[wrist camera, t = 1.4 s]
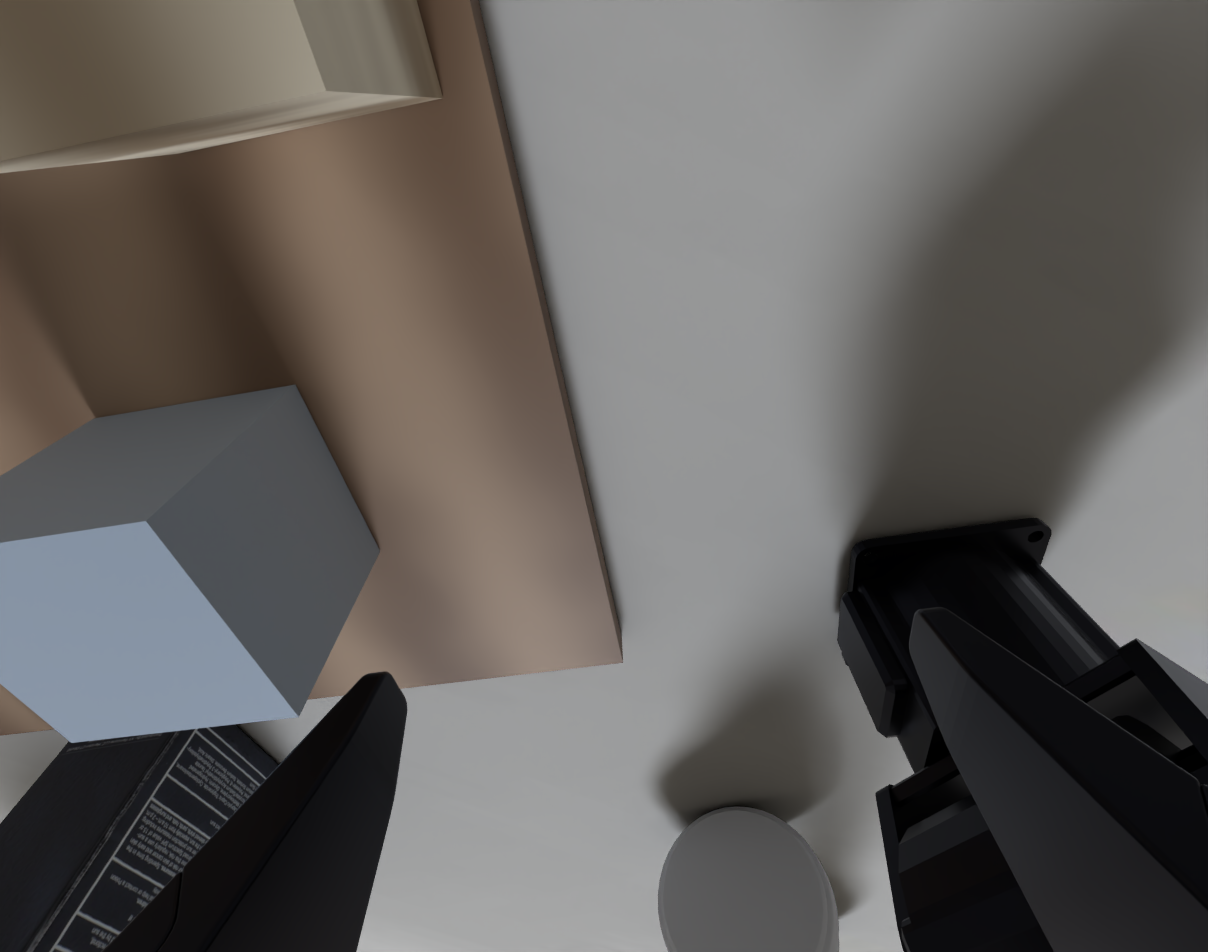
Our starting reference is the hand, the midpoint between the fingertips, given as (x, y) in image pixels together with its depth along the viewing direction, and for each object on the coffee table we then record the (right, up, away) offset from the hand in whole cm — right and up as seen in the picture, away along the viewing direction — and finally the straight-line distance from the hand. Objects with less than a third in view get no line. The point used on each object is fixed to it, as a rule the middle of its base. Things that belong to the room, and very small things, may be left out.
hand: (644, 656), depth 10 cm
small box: (-20, -11, +18) cm, 29 cm away
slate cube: (-11, +3, +7) cm, 14 cm away
